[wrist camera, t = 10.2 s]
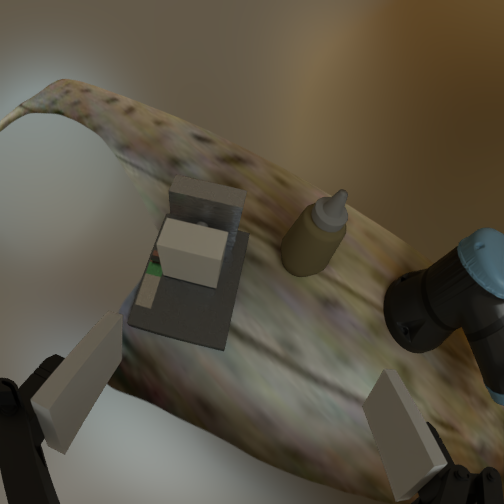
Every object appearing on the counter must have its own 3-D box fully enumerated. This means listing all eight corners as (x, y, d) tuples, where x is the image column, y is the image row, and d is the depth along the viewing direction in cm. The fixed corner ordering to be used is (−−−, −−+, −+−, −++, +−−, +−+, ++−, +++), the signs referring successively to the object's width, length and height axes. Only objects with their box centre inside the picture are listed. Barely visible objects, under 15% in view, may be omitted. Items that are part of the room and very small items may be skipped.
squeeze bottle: (311, 292, 47) (366, 233, 31) (267, 269, 48) (302, 199, 32) (327, 253, 51) (377, 188, 35) (286, 232, 52) (322, 158, 36)
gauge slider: (226, 247, 46) (233, 213, 38) (216, 288, 43) (221, 260, 35) (162, 231, 46) (156, 195, 38) (147, 270, 42) (137, 239, 34)
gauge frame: (248, 238, 50) (261, 194, 40) (223, 351, 40) (232, 333, 30) (167, 218, 49) (162, 172, 39) (129, 325, 39) (108, 299, 29)
